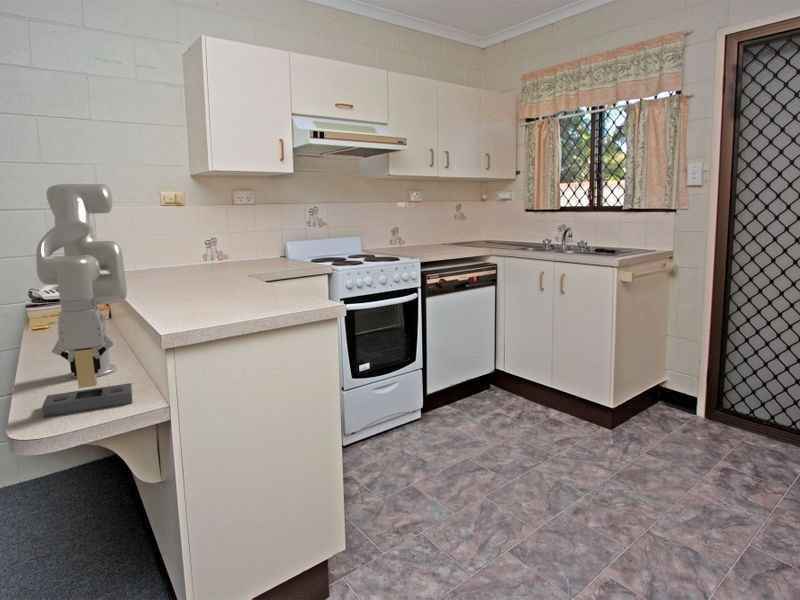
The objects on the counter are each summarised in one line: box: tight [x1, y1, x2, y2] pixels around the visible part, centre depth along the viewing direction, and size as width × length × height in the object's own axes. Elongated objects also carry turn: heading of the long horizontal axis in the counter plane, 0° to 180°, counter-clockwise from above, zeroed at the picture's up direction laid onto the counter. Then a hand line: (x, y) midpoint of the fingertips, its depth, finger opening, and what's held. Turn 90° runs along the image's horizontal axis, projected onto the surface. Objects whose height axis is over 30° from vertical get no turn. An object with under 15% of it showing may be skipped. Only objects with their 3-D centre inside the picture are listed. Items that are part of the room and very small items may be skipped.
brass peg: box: [74, 348, 98, 389], centre depth 139 cm, size 4×4×10 cm
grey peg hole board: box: [41, 382, 133, 419], centre depth 141 cm, size 9×20×3 cm, turn 117°
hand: (86, 372), depth 139 cm, fingers closed on brass peg, 4 cm apart
